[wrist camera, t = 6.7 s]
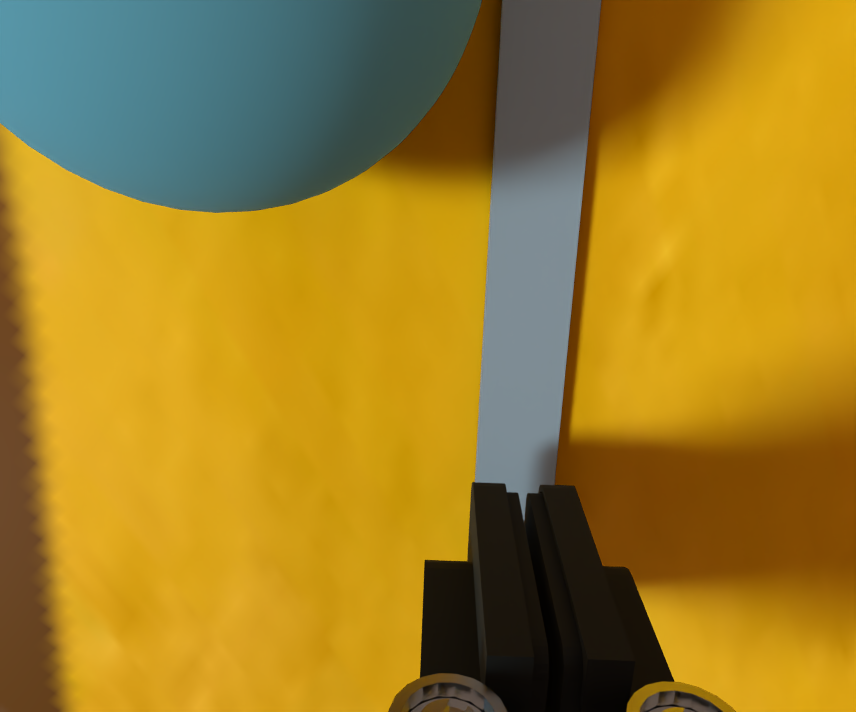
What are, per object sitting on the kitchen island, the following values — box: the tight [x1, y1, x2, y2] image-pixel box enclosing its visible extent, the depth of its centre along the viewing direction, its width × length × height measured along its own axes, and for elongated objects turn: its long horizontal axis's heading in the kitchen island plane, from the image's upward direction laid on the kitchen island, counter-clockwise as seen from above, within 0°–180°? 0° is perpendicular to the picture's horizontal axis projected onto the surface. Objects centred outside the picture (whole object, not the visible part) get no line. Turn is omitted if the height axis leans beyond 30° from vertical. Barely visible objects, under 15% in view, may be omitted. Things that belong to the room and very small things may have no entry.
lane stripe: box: [475, 0, 601, 520], centre depth 12 cm, size 10×1×1 cm, turn 178°
